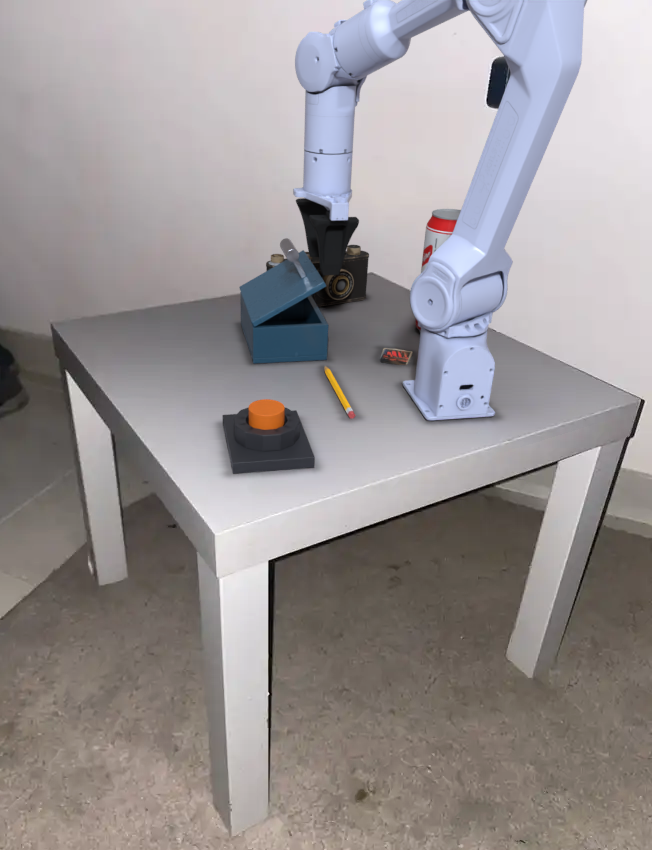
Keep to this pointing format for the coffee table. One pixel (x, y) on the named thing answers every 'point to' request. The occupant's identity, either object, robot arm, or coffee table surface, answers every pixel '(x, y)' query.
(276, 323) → the blue box
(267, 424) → the button
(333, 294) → the camera
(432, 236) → the beer can
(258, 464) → the control block
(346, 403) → the pencil
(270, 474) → the coffee table surface
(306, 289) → the blue box lid
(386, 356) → the matchbox
